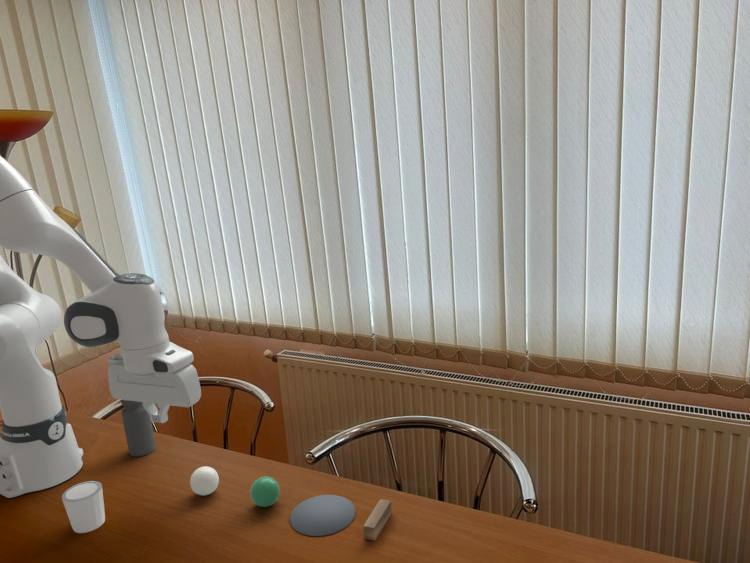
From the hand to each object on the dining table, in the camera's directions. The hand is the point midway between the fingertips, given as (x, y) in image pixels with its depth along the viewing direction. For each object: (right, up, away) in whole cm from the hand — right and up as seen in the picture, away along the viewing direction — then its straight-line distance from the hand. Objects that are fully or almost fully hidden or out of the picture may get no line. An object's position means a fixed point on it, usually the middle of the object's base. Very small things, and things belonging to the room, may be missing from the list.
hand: (159, 421), depth 121 cm
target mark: (+33, -15, -10) cm, 38 cm away
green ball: (+22, -12, -6) cm, 26 cm away
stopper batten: (+44, -15, -14) cm, 48 cm away
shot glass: (-11, -18, -7) cm, 22 cm away
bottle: (-11, -11, +19) cm, 25 cm away
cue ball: (+9, -12, -1) cm, 15 cm away
